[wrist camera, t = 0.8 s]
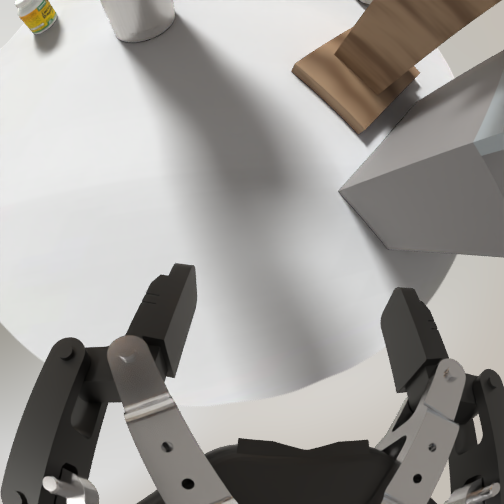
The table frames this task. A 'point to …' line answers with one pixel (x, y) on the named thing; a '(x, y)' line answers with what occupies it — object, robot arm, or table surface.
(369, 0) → the garlic
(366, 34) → the post
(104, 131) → the table surface
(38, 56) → the table surface
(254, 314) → the table surface
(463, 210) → the tray stand
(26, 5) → the supplement bottle
